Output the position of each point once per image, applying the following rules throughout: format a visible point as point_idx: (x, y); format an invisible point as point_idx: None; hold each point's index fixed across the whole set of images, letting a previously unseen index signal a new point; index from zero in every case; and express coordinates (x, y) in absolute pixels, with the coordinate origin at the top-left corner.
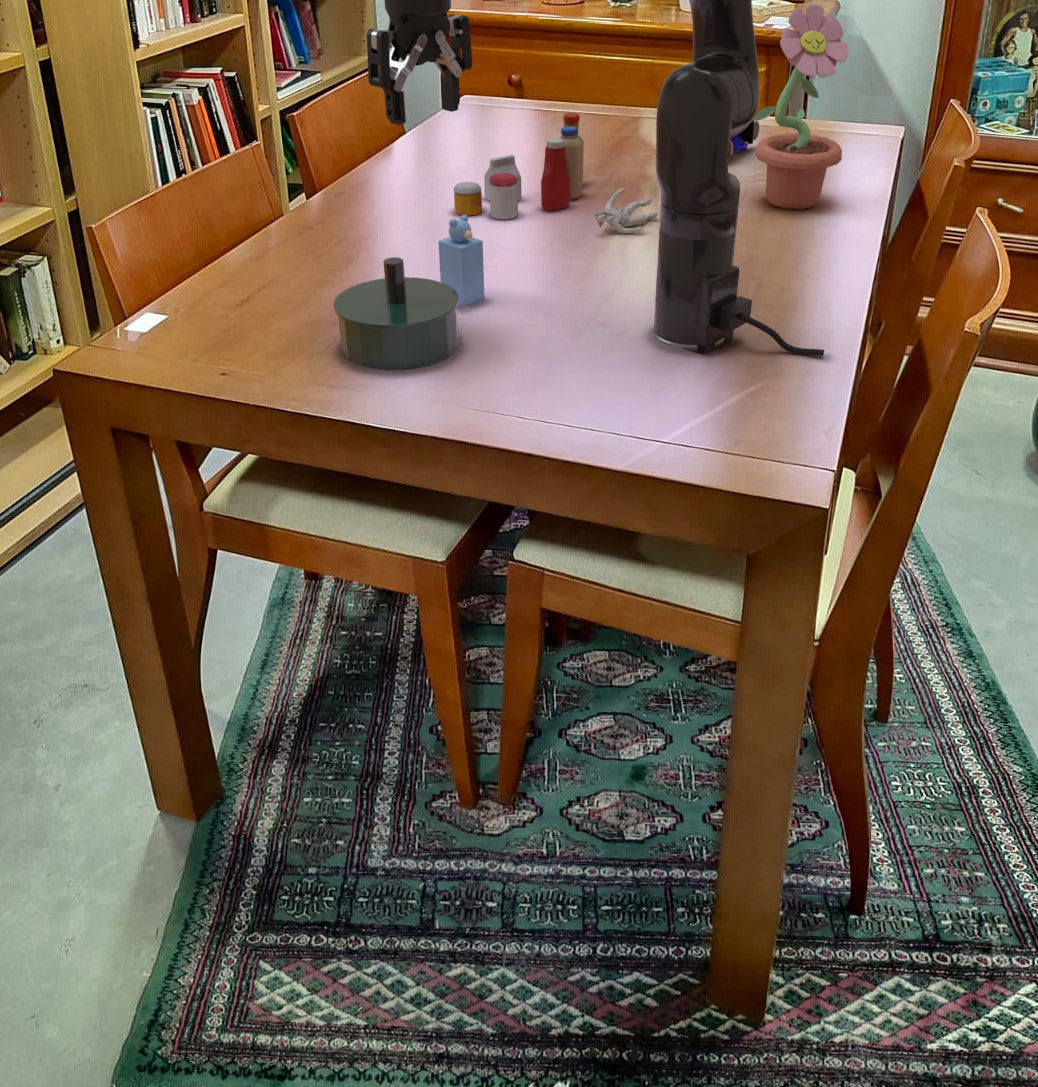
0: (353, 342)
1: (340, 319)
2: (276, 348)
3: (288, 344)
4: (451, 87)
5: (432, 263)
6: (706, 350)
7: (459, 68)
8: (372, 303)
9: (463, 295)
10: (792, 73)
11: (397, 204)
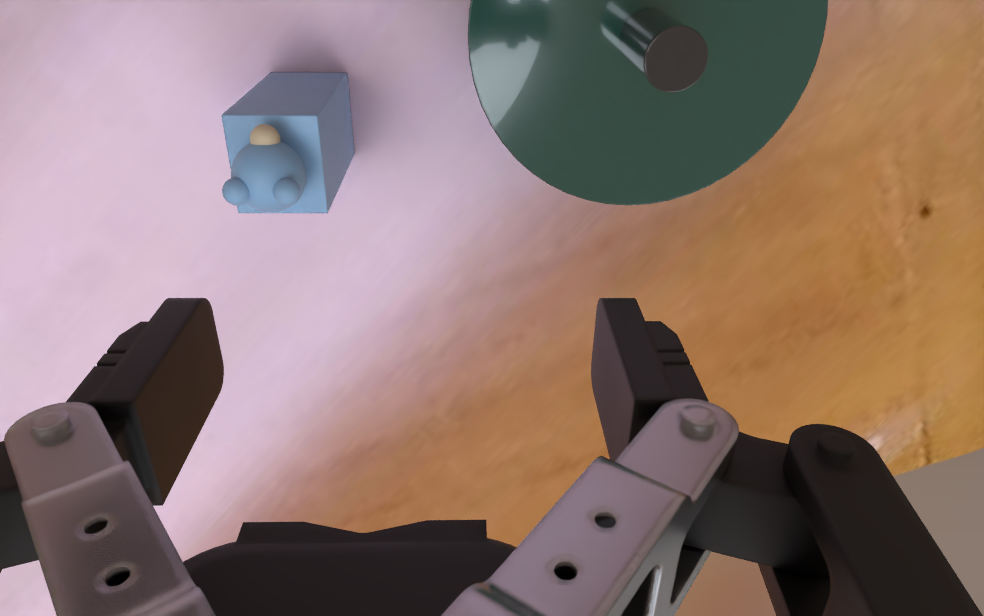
0: None
1: None
2: (772, 232)
3: (743, 230)
4: (157, 385)
5: (220, 338)
6: None
7: (22, 445)
8: (704, 70)
9: (340, 81)
10: None
11: None
